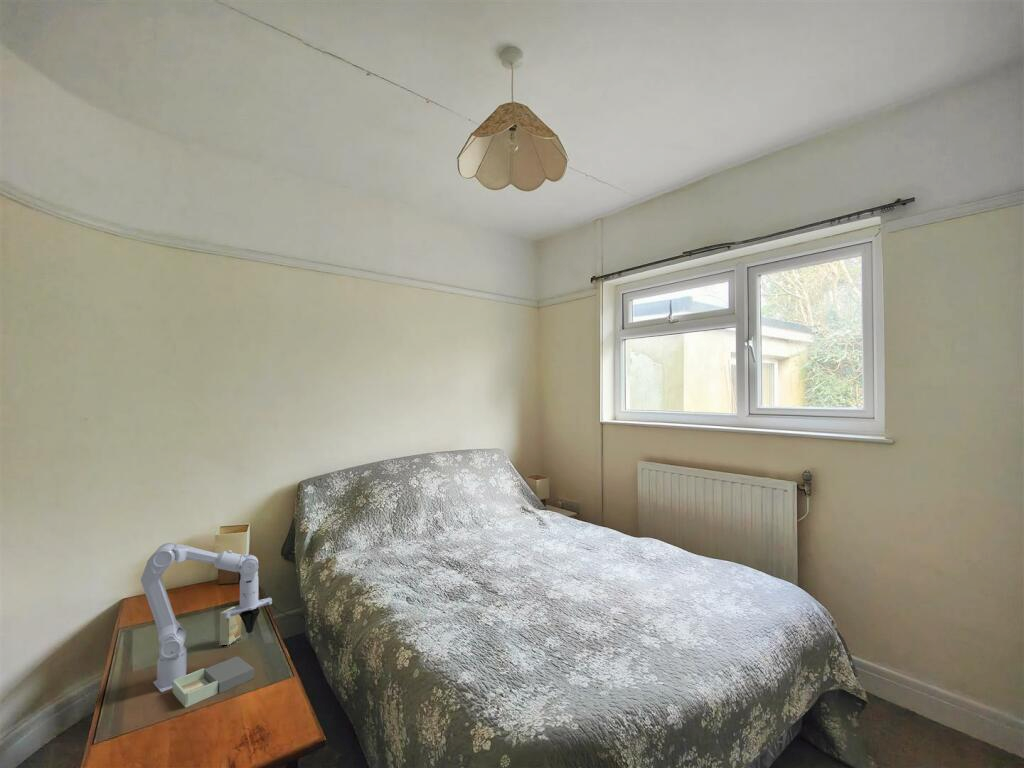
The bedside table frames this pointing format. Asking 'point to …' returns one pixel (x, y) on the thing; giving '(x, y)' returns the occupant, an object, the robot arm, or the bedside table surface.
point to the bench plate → (229, 673)
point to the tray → (194, 695)
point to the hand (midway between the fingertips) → (249, 631)
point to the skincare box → (229, 628)
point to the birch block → (192, 686)
